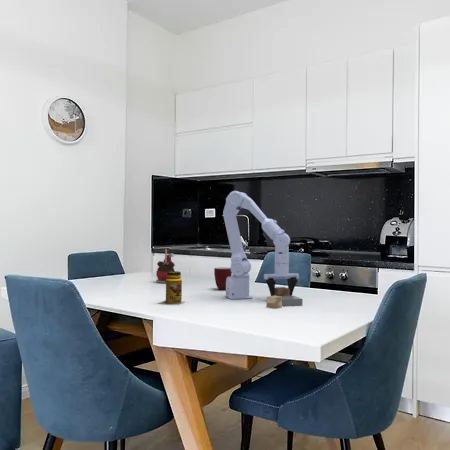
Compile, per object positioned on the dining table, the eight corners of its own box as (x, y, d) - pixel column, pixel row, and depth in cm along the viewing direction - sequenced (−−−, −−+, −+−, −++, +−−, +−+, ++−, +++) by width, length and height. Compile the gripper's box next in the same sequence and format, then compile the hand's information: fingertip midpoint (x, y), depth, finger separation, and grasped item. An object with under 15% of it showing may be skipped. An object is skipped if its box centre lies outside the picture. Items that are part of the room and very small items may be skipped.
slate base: (283, 306, 175) (283, 299, 175) (274, 302, 183) (274, 296, 183) (302, 305, 177) (302, 298, 177) (293, 302, 185) (293, 295, 185)
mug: (207, 288, 220) (208, 267, 220) (221, 287, 225) (221, 266, 225) (220, 291, 211) (220, 269, 211) (234, 290, 216) (235, 268, 216)
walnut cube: (278, 301, 186) (278, 289, 186) (273, 299, 191) (273, 287, 190) (289, 301, 187) (289, 288, 187) (284, 299, 192) (284, 287, 192)
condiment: (178, 305, 175) (178, 273, 175) (157, 303, 178) (157, 272, 178) (185, 302, 182) (185, 271, 182) (165, 300, 185) (166, 270, 185)
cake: (151, 282, 240) (152, 247, 240) (164, 280, 248) (164, 246, 247) (167, 284, 234) (167, 248, 234) (179, 282, 241) (179, 247, 241)
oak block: (273, 308, 170) (273, 297, 170) (266, 307, 173) (266, 296, 173) (281, 307, 172) (281, 297, 172) (274, 306, 176) (274, 295, 176)
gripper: (268, 264, 183) (268, 298, 183) (302, 263, 187) (302, 297, 187) (262, 262, 190) (261, 296, 190) (294, 262, 194) (294, 295, 194)
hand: (281, 296), depth 189 cm, fingers open, 7 cm apart
